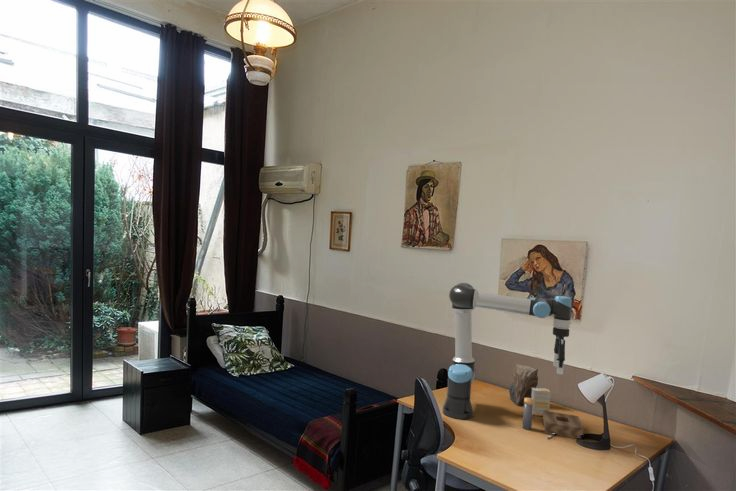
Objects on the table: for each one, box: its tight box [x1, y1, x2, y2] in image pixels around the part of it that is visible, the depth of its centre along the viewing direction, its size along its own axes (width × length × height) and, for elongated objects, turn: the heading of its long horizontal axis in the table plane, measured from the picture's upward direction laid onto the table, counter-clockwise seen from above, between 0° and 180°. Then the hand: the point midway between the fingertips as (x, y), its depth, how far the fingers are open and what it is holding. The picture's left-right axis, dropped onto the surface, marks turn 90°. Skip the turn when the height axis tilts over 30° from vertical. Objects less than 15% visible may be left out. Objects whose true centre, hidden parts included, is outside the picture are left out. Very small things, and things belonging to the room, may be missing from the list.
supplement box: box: [531, 387, 551, 417], centre depth 235 cm, size 8×5×13 cm, turn 84°
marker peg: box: [521, 398, 534, 431], centre depth 216 cm, size 4×4×14 cm
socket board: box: [542, 410, 584, 439], centre depth 217 cm, size 16×16×5 cm
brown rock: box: [508, 363, 539, 407], centre depth 252 cm, size 13×13×20 cm
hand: (557, 370), depth 226 cm, fingers open, 13 cm apart
